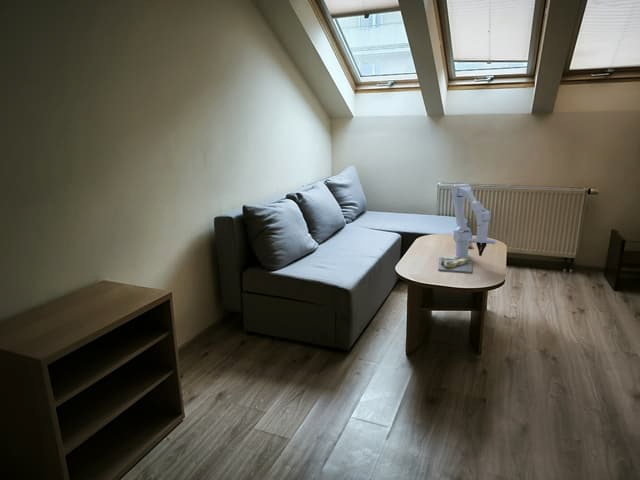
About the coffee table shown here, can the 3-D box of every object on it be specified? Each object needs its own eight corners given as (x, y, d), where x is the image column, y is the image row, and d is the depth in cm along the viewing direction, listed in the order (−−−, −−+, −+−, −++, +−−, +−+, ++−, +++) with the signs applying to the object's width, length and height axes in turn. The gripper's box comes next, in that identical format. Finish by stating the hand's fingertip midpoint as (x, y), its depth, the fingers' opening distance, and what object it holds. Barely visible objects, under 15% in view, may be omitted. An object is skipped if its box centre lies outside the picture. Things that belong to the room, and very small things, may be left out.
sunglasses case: (474, 249, 287) (470, 240, 286) (464, 254, 289) (459, 245, 288) (470, 241, 304) (466, 233, 303) (460, 246, 306) (456, 238, 305)
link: (448, 268, 249) (448, 263, 248) (443, 266, 252) (443, 262, 251) (468, 262, 259) (469, 257, 258) (463, 260, 262) (464, 256, 261)
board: (439, 259, 269) (439, 257, 269) (470, 261, 264) (470, 259, 264) (438, 270, 249) (438, 269, 249) (472, 273, 245) (472, 271, 244)
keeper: (440, 263, 258) (441, 256, 257) (452, 264, 257) (452, 257, 256) (440, 264, 256) (440, 257, 255) (452, 265, 254) (452, 258, 253)
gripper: (469, 233, 250) (467, 256, 254) (496, 234, 246) (494, 258, 250) (468, 230, 257) (466, 252, 260) (495, 231, 253) (493, 254, 257)
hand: (480, 255), depth 256 cm, fingers closed
